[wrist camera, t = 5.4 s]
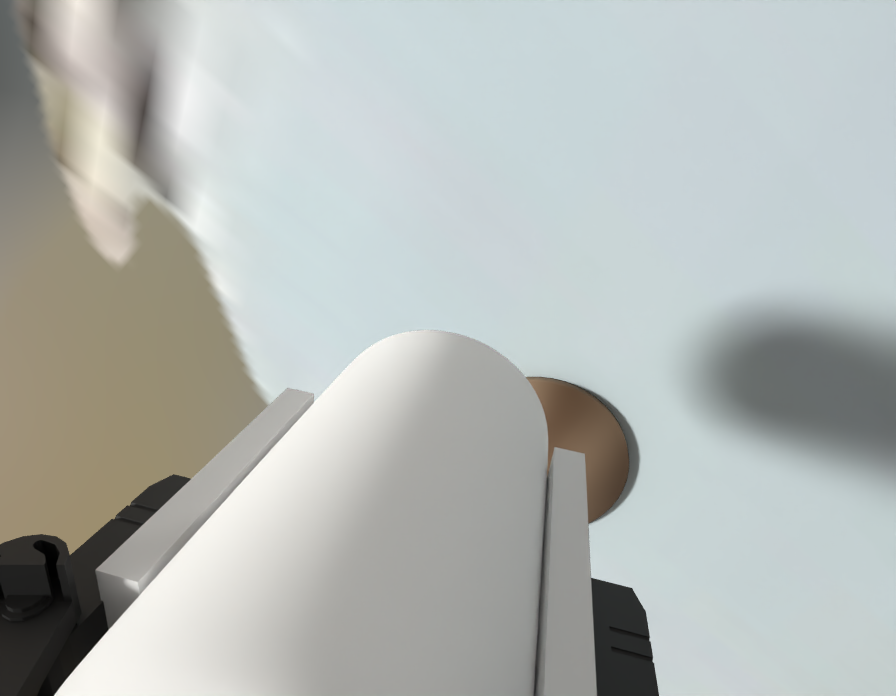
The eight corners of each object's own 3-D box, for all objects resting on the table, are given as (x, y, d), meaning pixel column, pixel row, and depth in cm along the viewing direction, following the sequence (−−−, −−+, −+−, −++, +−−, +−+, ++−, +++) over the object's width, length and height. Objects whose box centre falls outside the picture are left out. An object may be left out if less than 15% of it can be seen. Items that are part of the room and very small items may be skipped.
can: (312, 338, 16) (-228, 794, 5) (531, 308, 14) (416, 895, 3) (368, 516, 18) (71, 1100, 7) (563, 509, 16) (554, 1254, 6)
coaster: (648, 396, 28) (649, 401, 28) (605, 542, 32) (606, 549, 32) (461, 361, 30) (459, 366, 29) (442, 505, 34) (440, 511, 33)
